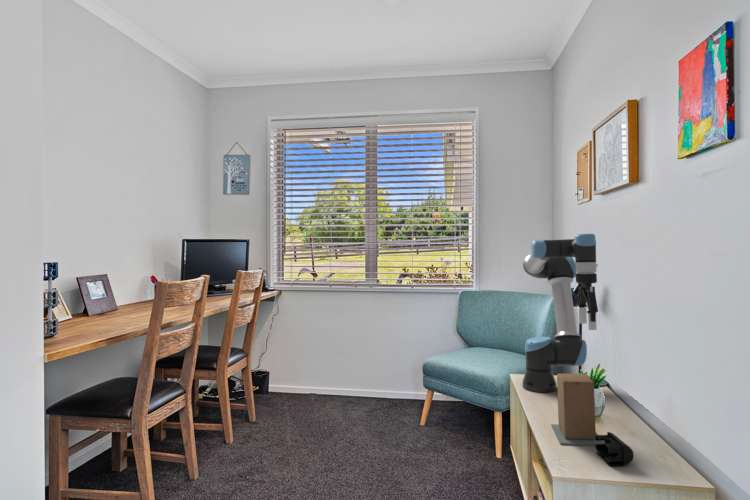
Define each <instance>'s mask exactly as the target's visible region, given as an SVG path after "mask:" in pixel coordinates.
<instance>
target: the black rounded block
mask: <svg viewBox="0 0 750 500" xmlns="http://www.w3.org/2000/svg"><path fill="white" fill-rule="evenodd" d="M606 433H607V434H598V435H596V436H595V440H596V441H601V440H602V441H603V443H604V444H596V446H595V450H596V451H595V452H596V455H597V456H598V457H599V458H600V459H601V460H602V461H603V462H604V463H605V464H606V465H607V466H608V467H610V468H618V467H619V468H621V467H622V468H623V467H626V466H628V465H629V464H631V462H633V459H634V456H635V455H634V450H633V449H632V447H630V446H629V445H628V444H627V443H625V442H624V441H622V440H621V439H620V438H619V437H618V436H617V435H615V434H614V433H612V432H610V431H607V432H606Z"/></svg>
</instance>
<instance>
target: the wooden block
mask: <svg viewBox="0 0 750 500" xmlns="http://www.w3.org/2000/svg"><path fill="white" fill-rule="evenodd" d="M556 384H557V389H556V390H557V411H558V412H557V414H558V416H557V418H558V425H559V428H560V430H561V432H562V434H563V435H564V437H565V438H566V439H584V440H595V436H596V433H597V431H596V404H595V399H596V398H595V382H594V381H593V380H592V379H591V378H590V376H588V375H587V373H560V372H559V373H557V374H556Z"/></svg>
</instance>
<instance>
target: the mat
mask: <svg viewBox="0 0 750 500" xmlns="http://www.w3.org/2000/svg"><path fill="white" fill-rule="evenodd" d="M550 427H551V429H552V430H553V432H554V434H555V437H556V439H557V440H558V442H559V445H560V444H561V446H578V445H579V447H580V445H581V446H582V447H584V446H585V447H596V444H604V443H605V442H604V440H601V441H596V440H584V439H566V438H565V437H564V435H563V434H562V432H561V430H560V428H559V424H553V423H552V424H551V425H550ZM596 435H599V434H598V433H597V432H596Z"/></svg>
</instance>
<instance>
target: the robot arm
mask: <svg viewBox="0 0 750 500" xmlns="http://www.w3.org/2000/svg"><path fill="white" fill-rule="evenodd" d="M530 249H531V250H530V252H531V254H528V255H527V256H526V257H525V259H524V260H523V263H522V267H523V270H524V272H526V273H527V274H528V275H529V276H530V277H533V278H536V279H547V283H548V284H549V285H551V289H552V298H553V307H554V317H555V327H556V334H555V335H554V336H553V337H554V340H553V339H552V338H551V337H549V336H534V337H531V338H530V337H529V338H528V339H527V340H525V343H524V344H525V346H524V351H525V372H524V376H523V378H522V388H523V389H525V390H526V391H531V392H534V393H551V392H555V391H556V390H558V389H557V380H556V378H555V376H554V373H553V367H554V366H555V367H556V366H557V367H558V366H561V367H569V366H570V367H578V366H579V367H580V366H583V365H584V364H585V362H586V360H587V354H588V347H587V342H586V340H583V339H582V336H581V334H579V333H578V332H577V326H576V325H577V323H576V316H575V309H574V302H573V301H574V300H573V292H572V286H571V284H572V282H574V278H575V283H577V284H578V294H577V303H576V304H577V306H578V319H579V320H578V321H579V322H578V323H579V324H580V325H581V324H582V325H583V324H585V325H586V324H587V328H588V329H587V330H588V331H597V330H598V329H597V313H598V312H599V307H598V304H597V303H598V302H597V296H596V287H595V286H593V285H592V284H596V283H598V282H597V281H598V277H597V276H598V275H597V273H596V272H597V267H598V264H597V239H596V235H595V234H594V233H580V234H579V233H577V234H575V235H574V238H571V239H569V238H568V239H544V240H543V239H539V240H533V241H532V243H531V247H530ZM574 259H575V260H574Z"/></svg>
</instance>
